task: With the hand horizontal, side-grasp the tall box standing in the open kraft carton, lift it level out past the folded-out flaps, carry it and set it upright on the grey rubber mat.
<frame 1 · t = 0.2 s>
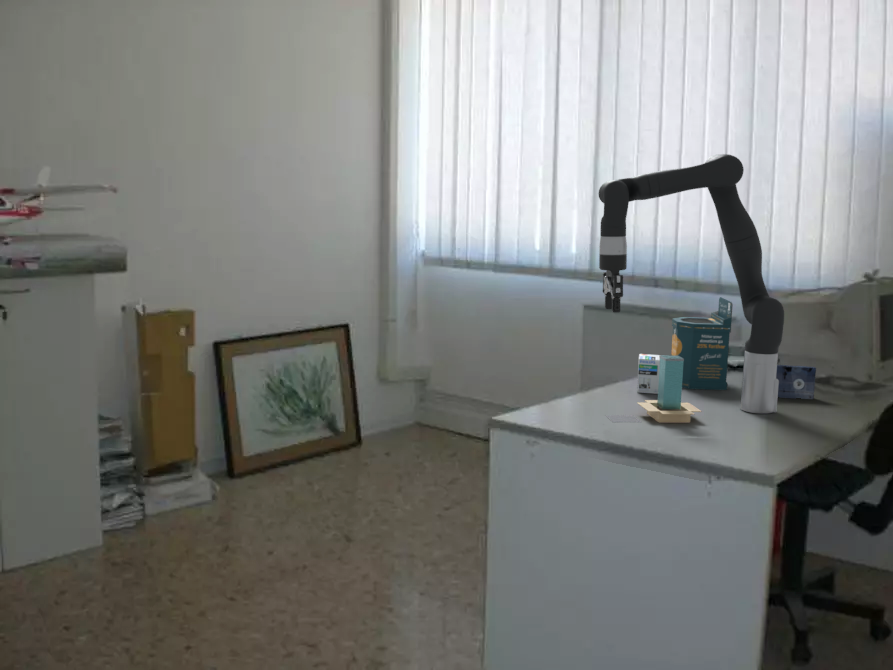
hand: (612, 310, 288), 29 cm above the table, tool pointing down, fingers open, 8 cm apart
donation box: (695, 384, 334), on the table
vhs cassette tape: (782, 397, 317), on the table
carton: (668, 419, 283), on the table
mat: (623, 419, 281), on the table
light bulb box: (647, 391, 322), on the table
tall box: (668, 417, 283), resting on carton
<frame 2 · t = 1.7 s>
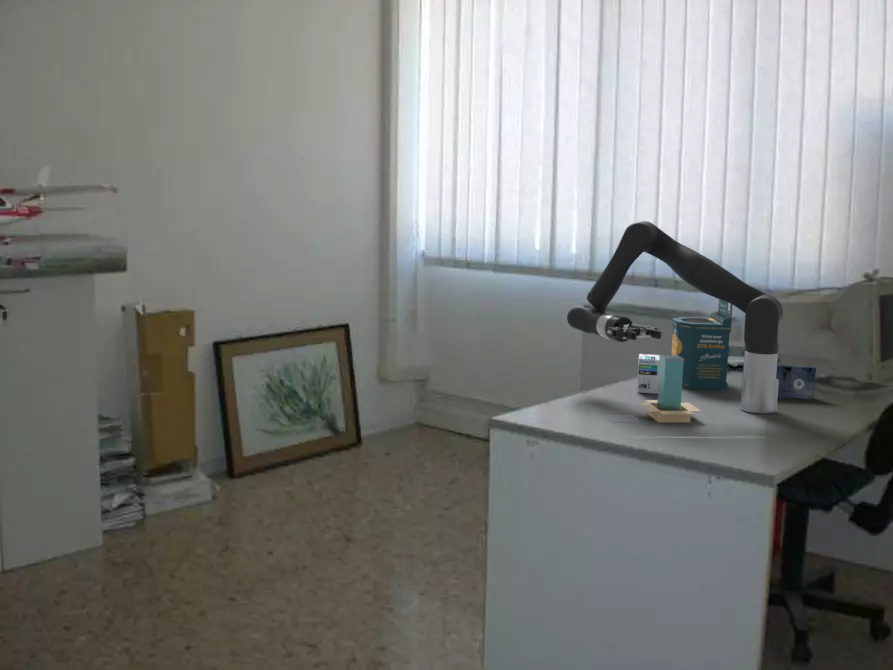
hand: (648, 335, 290), 22 cm above the table, tool horizontal, fingers open, 8 cm apart
nothing on the table moved.
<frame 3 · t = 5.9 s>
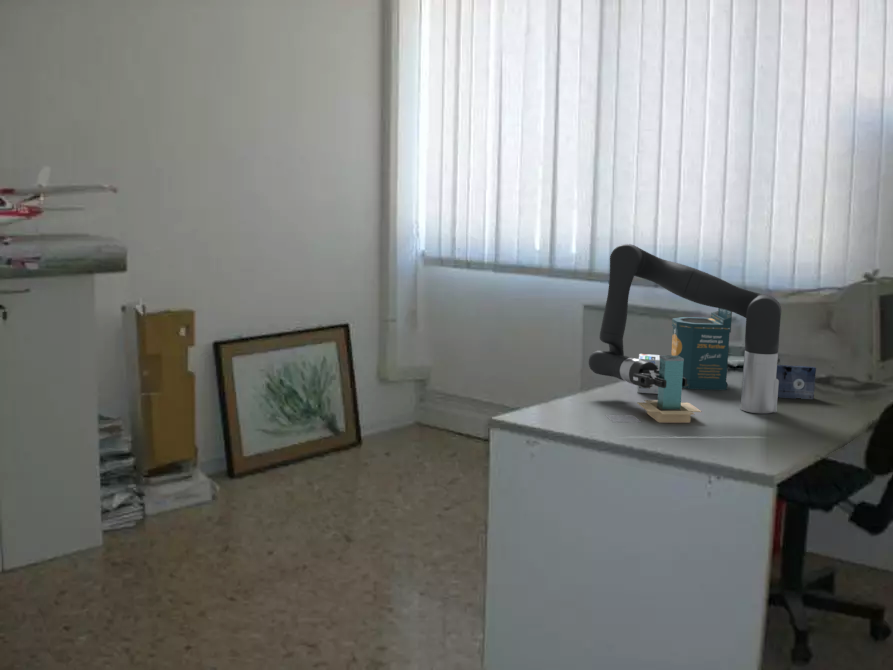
hand: (675, 383, 279), 10 cm above the table, tool horizontal, fingers closed on tall box, 6 cm apart
tall box: (668, 417, 283), resting on carton, touching gripper
everything else where it was.
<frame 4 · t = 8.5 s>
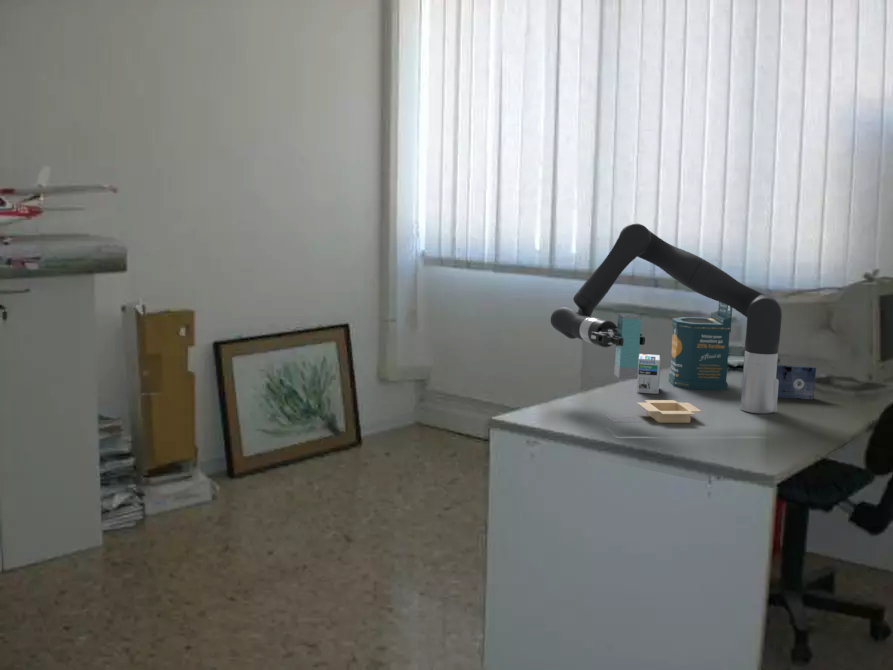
hand: (633, 341, 276), 22 cm above the table, tool horizontal, fingers closed on tall box, 6 cm apart
tall box: (625, 376, 279), point 12 cm above the table, touching gripper
everything else where it was.
when the fingers open (11 cm above the table, at t = 11.1 s): tall box stays where it is, resting on mat.
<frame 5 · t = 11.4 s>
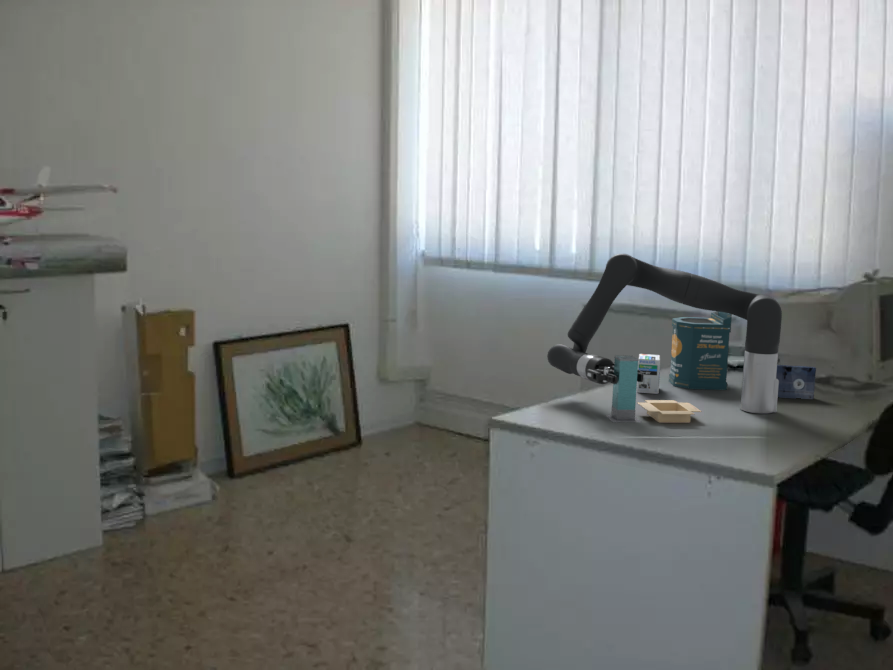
hand: (629, 379, 277), 12 cm above the table, tool horizontal, fingers open, 8 cm apart
tall box: (622, 418, 281), resting on mat
everything else where it was.
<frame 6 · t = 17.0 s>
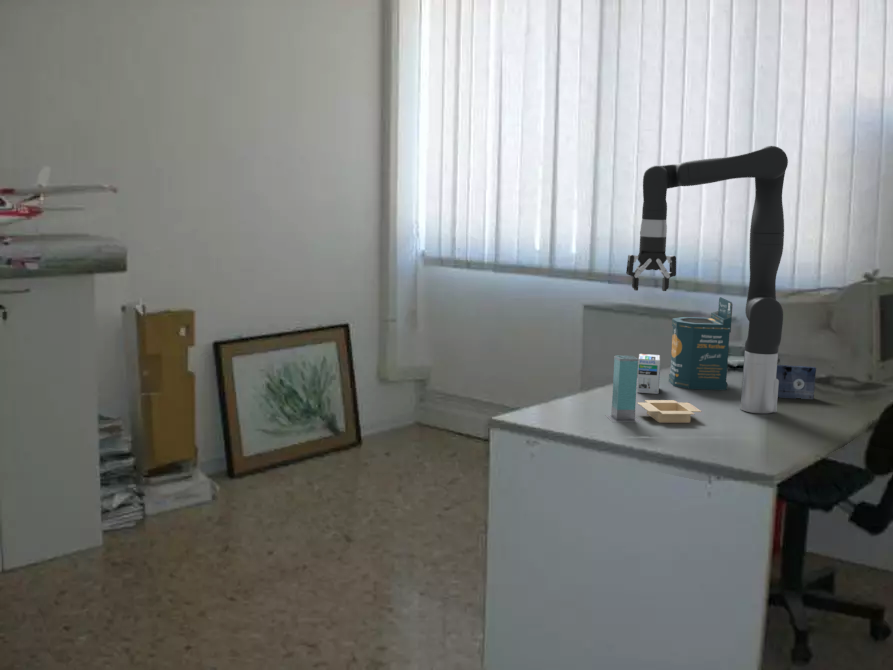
hand: (650, 290, 301), 33 cm above the table, tool pointing down, fingers open, 8 cm apart
nothing on the table moved.
at the end: tall box inside the target area on the mat (0.1 cm from its centre), point 0.4 cm above the mat's base; tall box tilted 0°; the gripper is holding nothing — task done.
